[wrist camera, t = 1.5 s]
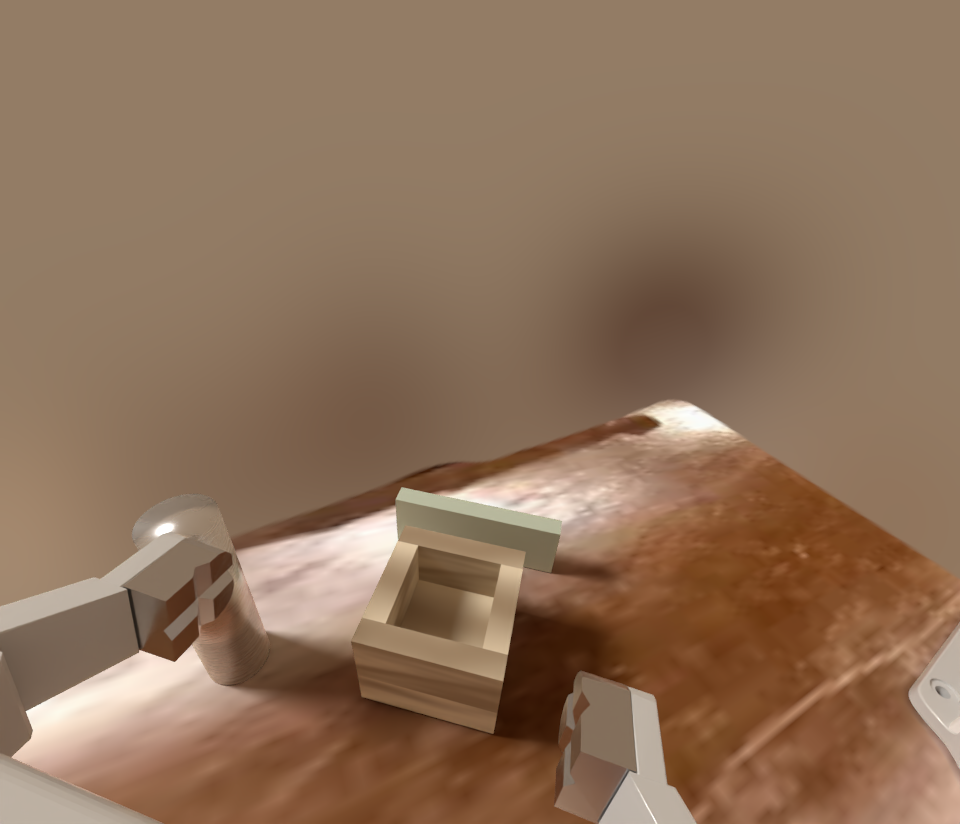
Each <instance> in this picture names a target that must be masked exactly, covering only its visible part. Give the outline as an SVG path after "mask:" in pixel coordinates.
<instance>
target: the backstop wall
mask: <svg viewBox="0 0 960 824" xmlns="http://www.w3.org/2000/svg"><path fill="white" fill-rule="evenodd" d="M396 516H397V532H398V539H399V538H400V536H401V533H402V531H403V529H404V527H405V525H407V526H411V527H416V528H420V529H425V530H429V531H434V532H439V533H443V534H448V535H452V536H457V537H461V538H466V539H470V540H475V541H479V542H484V543H488V544H493V545H497V546H502V547H506V548H511V549H515V550H520V551H524V552H526V553H525V559H524V565H523V567H526V568H531V569H535V570H540V571H544V572H548V573H551V571H552V567H553V563H554V559H555V555H556V551H557V547H558V543H559V539H560V534H561V524H562V521H560V520H555V519H550V518H545V517H541V516H536V515H531V514H526V513H521V512H517V511H512V510H507V509H502V508H498V507H493V506H488V505H483V504H478V503H474V502H469V501H464V500H459V499H454V498H450V497H445V496H440V495H435V494H431V493H426V492H421V491H416V490H411V489H407V488H401V490H400V492H399V494H398V496H397V498H396Z"/></svg>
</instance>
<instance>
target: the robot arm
mask: <svg viewBox="0 0 960 824" xmlns="http://www.w3.org/2000/svg"><path fill="white" fill-rule="evenodd" d="M232 565H233V562H232V554H231V553H229V552H226V551H224V550H221V549H218V548H215V547H213V546H210V545H207V544H205V543H202V542H199V541H197V540H194V539H191V538H189V537H186V536H183V535H180V534H177V533H174V532H168V533H164V534H162V535H160V536H159V537H157V538H156V539H155V540H153V541H152V542H151V543H149V544H148V545H146V546H145V547H144V548H142V549H141V550H140V551H138V552H137V553H135V554H134V555H133V556H131V557H130V558H129V559H127V560H126V561H125V562H123V563H122V564H120V565H119V566H118V567H116V568H115V569H113V570H112V571H111V572H109V573H108V574H107V575H105V576H104V577H102V578H101V579H98V578H95V577H94V578H90V579H87V580H84V581H81V582H78V583H75V584H71V585H68V586H65V587H61V588H58V589H55V590H52V591H48V592H45V593H42V594H39V595H36V596H32V597H29V598H26V599H23V600H20V601H16V602H13V603H10V604H7V605H3V606H1V607H0V824H163V823H161V822H159V821H156V820H154V819H152V818H150V817H147V816H145V815H143V814H140V813H138V812H136V811H133V810H131V809H129V808H126V807H124V806H122V805H119V804H117V803H115V802H113V801H110V800H108V799H106V798H103V797H101V796H99V795H96V794H94V793H92V792H89V791H87V790H85V789H83V788H80V787H78V786H76V785H73V784H71V783H69V782H66V781H64V780H62V779H59V778H57V777H55V776H52V775H50V774H48V773H46V772H43V771H41V770H39V769H36V768H34V767H32V766H29V765H27V764H25V763H22V762H20V761H18V760H16V759H13V758H11V757H12V756H13V755H14V754H15V753H16V752H17V751H18V750H19V749H20V748H21V747H22V746H23V745H24V744H25V743H27V742H28V741H29V740H30V739H31V735H32V731H33V730H32V727H31V724H30V722H29V719H28V717H27V714H26V712H25V711H27V710H29V709H31V708H33V707H35V706H37V705H39V704H40V703H42V702H44V701H46V700H48V699H50V698H52V697H54V696H56V695H58V694H60V693H62V692H64V691H66V690H67V689H69V688H71V687H73V686H75V685H77V684H79V683H81V682H83V681H85V680H87V679H89V678H91V677H93V676H94V675H96V674H98V673H100V672H102V671H104V670H106V669H108V668H110V667H112V666H114V665H116V664H118V663H120V662H121V661H123V660H125V659H127V658H129V657H131V656H133V655H135V654H137V653H139V650H142V651H145V652H147V653H150V654H153V655H156V656H159V657H162V658H165V659H168V660H171V661H174V662H175V661H176V660H177V659H178V658H179V657H180V656H181V655H182V654H183V653H184V652H185V651H186V650H187V649H188V648H189V647H190V645H191V644H192V643H193V642H194V641H195V640H196V639H197V638H198V637H199V635H200V628H201V625H204V624H206V623H209V622H211V621H213V620H215V619H216V618H217V617H218V616H219V615H220V613H221V612H222V611H223V610H224V609H225V607H226V605H227V604H228V602H229V600H230V598H231V597H232V593H233V589H234V579H233V577H232V576H231V574H230V573H229V571H228V569H229V568H230V567H231V566H232ZM939 694H940V695H941V696H940V695H939ZM909 698H910V701H911V703H912V705H913V706H914V708H915V709H916V710H917V712H918V713H919V714H920V716H921V717H922V718H923V719H924V721H925V722H926V723H927V724H928V725H929V726H930V728H931V729H932V730H933V731H934V732H935V733H936V735H937V736H938V737H939V738H940V739H941V740H942V741H943V743H944V744H945V745H946V747H947V748H948V750H949V751H950V753H951V754H952V756H953V758H954V759H955V761H956V763H957V765H958V767H959V769H960V622H959V624H958V625H957V626H956V628H955V629H954V630H953V632H952V633H951V634H950V636H949V637H948V638H947V640H946V641H945V643H944V644H943V645H942V647H941V648H940V649H939V651H938V652H937V653H936V655H935V656H934V657H933V659H932V660H931V661H930V663H929V664H928V665H927V667H926V668H925V669H924V671H923V672H922V673H921V675H920V676H919V678H918V679H917V680H916V682H915V683H914V684H913V686H912V687H911V688H910V690H909ZM558 745H559V747H560V749H561V751H562V753H563V754H562V757H561V759H560V761H559V763H558V766H557V768H556V784H555V800H554V806H555V807H558V808H560V809H563V810H565V811H567V812H570V813H572V814H575V815H577V816H580V817H582V818H584V819H587V820H589V821H592V822H594V823H596V824H697V823H696V821H695V820H694V818H693V816H692V815H691V813H690V811H689V810H688V808H687V806H686V805H685V803H684V801H683V800H682V798H681V796H680V795H679V793H678V791H677V790H676V788H675V787H672V786H670V785H667V778H666V770H665V763H664V755H663V748H662V740H661V733H660V726H659V718H658V711H657V703H656V700H655V698H654V696H653V695H651V694H649V693H646V692H643V691H640V690H637V689H634V688H631V687H627V686H626V685H624V684H620V683H617V682H614V681H611V680H608V679H605V678H602V677H599V676H596V675H593V674H589V673H586V672H583V671H579V672H578V673H577V676H576V678H575V680H574V690H573V693H571V694H569V695H568V697H567V699H566V702H565V704H564V708H563V712H562V716H561V721H560V728H559V739H558Z"/></svg>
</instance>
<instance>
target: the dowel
mask: <svg viewBox="0 0 960 824" xmlns="http://www.w3.org/2000/svg"><path fill="white" fill-rule="evenodd" d="M168 532H174V533H177V534H180V535H183V536H186V537H189V538H191V539H194V540H197V541H199V542H202V543H205V544H207V545H210V546H213V547H215V548H218V549H221V550H224V551H226V552H229V553H231V554H232V562H233V565H232V566H231V567H230V568H229V569H228V571H229V573H230V574H231V576H232V577H233V579H234V589H233V593H232V597H231V598H230V600H229V602H228V604H227V605H226V607H225V609H224V610H223V611H222V612H221V613H220V615H219V616H218V617H217V618H216V619H215V620H213V621H211V622H209V623H206V624H204V625H201V628H200V635H199V637H198V638H197V639H196V640H195V641H194V642H193V643H192V646H193V647H194V649H195V651H196V653H197V655H198V656H199V658H200V660H201V662H202V663H203V665H204V667H205V669H206V670H207V672H208V674H209V676H210V678H211V679H212V680H213V681H214V682H216V683H218V684H221V685H235V684H239V683H241V682H244V681H246V680H247V679H249V678H251V677H252V676H253V675H255V674H256V673H257V672H258V671H259V670H260V669H261V667H262V666H263V665H264V663H265V662H266V660H267V657H268V655H269V650H270V643H269V639H268V637H267V634H266V631H265V629H264V626H263V623H262V621H261V618H260V616H259V613H258V610H257V608H256V605H255V602H254V600H253V597H252V594H251V592H250V589H249V587H248V584H247V581H246V579H245V576H244V573H243V571H242V568H241V565H240V563H239V560H238V558H237V555H236V552H235V550H234V547H233V544H232V542H231V539H230V536H229V534H228V531H227V529H226V526H225V524H224V521H223V518H222V516H221V513H220V510H219V507H218V505H217V503H216V502H215V501H214V500H213V499H212V498H210V497H208V496H205V495H200V494H185V495H180V496H176V497H173V498H170V499H167V500H164V501H162V502H160V503H158V504H157V505H155V506H153V507H152V508H150V509H149V510H148V511H146V512H145V513H144V514H143V515H142V516H141V517H140V518H139V519H138V521H137V522H136V524H135V525H134V528H133V531H132V539H133V541H134V543H135V545H136V547H137V548H138V550H139V551H140V550H141V549H142V548H144V547H145V546H146V545H148V544H149V543H151V542H152V541H153V540H155V539H156V538H157V537H159V536H160V535H162V534H164V533H168Z"/></svg>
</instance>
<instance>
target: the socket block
mask: <svg viewBox="0 0 960 824" xmlns="http://www.w3.org/2000/svg"><path fill="white" fill-rule="evenodd" d="M525 553H526V552H524V551H520V550H515V549H511V548H506V547H502V546H497V545H493V544H488V543H484V542H479V541H475V540H470V539H466V538H461V537H457V536H452V535H448V534H443V533H439V532H434V531H429V530H425V529H420V528H416V527H411V526H407V525H405V527H404V529H403V531H402V533H401V536H400V538H399V540H398V542H397V544H396V546H395V548H394V551H393V553H392V555H391V557H390V559H389V561H388V563H387V566H386V568H385V570H384V572H383V574H382V576H381V578H380V580H379V583H378V585H377V587H376V589H375V591H374V593H373V595H372V598H371V600H370V602H369V604H368V606H367V608H366V610H365V613H364V615H363V617H362V619H361V621H360V623H359V625H358V628H357V630H356V632H355V634H354V636H353V638H352V640H351V643H352V648H353V654H354V659H355V664H356V670H357V675H358V680H359V686H360V691H361V697H364V698H367V699H371V700H375V701H378V702H382V703H385V704H389V705H392V706H396V707H399V708H403V709H406V710H410V711H413V712H417V713H421V714H424V715H428V716H431V717H435V718H438V719H442V720H445V721H449V722H452V723H456V724H459V725H463V726H467V727H470V728H474V729H477V730H481V731H484V732H488V733H491V734H493V733H494V728H495V723H496V717H497V712H498V707H499V702H500V696H501V691H502V686H503V680H504V674H505V669H506V663H507V657H508V651H509V646H510V640H511V634H512V628H513V623H514V617H515V611H516V605H517V599H518V594H519V588H520V582H521V576H522V571H523V565H524V559H525Z"/></svg>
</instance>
